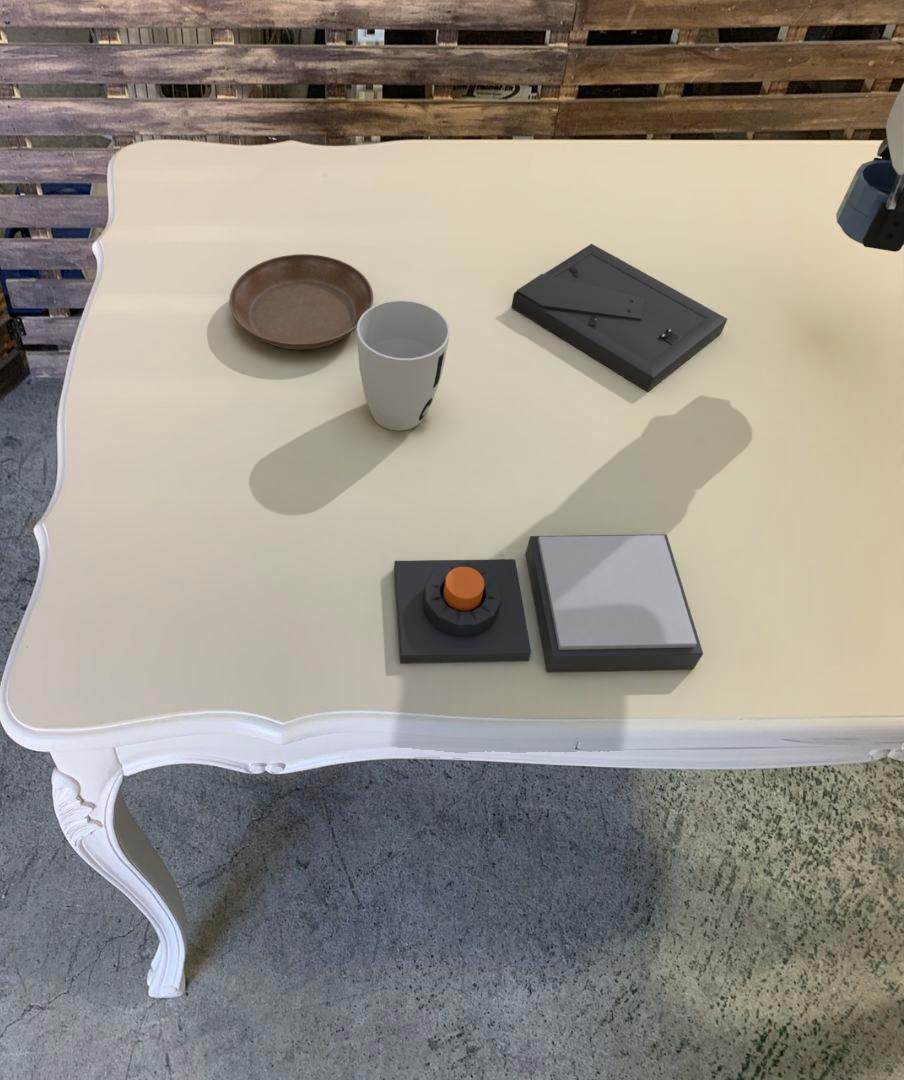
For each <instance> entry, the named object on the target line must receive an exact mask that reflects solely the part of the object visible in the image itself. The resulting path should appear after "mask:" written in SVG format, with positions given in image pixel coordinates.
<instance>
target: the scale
mask: <svg viewBox="0 0 904 1080" xmlns="http://www.w3.org/2000/svg"><path fill="white" fill-rule="evenodd" d="M524 555H525V558H526V564H527V570H528V576H529V581H530V586H531V591H532V592H531V593H532V597H533V603H534V608H535V615H536V619H537V626H538V631H539V636H540V643H541V647H542V651H543V658H544V663H545V670H546V673H571V672H572V673H573V672H574V673H575V672H577V673H580V672H618V671H619V672H623V671H624V672H627V671H629V672H631V671H675V670H676V671H677V670H678V671H680V670H681V671H682V670H694V669H695V668H696V666H697V665H698V663H699V662H700V660H701V658H702V657H703V655H704V651H703V648H702V645H701V642H700V638H699V636H698V632H697V628H696V625H695V623H694V619H693V616H692V613H691V609H690V605H689V603H688V598H687V596H686V592H685V589H684V586H683V583H682V580H681V577H680V573H679V570H678V567H677V564H676V560H675V557H674V554H673V551H672V547H671V543H670V541H669V537H668V534H665V533H663V534H599V535H598V534H593V535H588V534H586V535H584V534H583V535H530V536H529V539H528V543H527V547H526V550H525V554H524Z"/></svg>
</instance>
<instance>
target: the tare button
mask: <svg viewBox="0 0 904 1080" xmlns="http://www.w3.org/2000/svg"><path fill="white" fill-rule="evenodd" d="M484 585H485V584H484V579H483V577H482V575H481V574H480V573H479V572H478V571H476V570H475V569H473V568H470V567H457V568H455V569H453V570H451V571H450V572H449V573H448V574H447V576H446V580H445V586H444V592H443V595H444V599H445V601H446V602H447V604H448V605H449V606H451V607H452V608H454V609H456V610H460V611H468V610H472V609H474V608H475V607H477V606H478V605H479V603H480V602H481V599H482V594H483V590H484Z"/></svg>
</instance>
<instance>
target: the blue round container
mask: <svg viewBox="0 0 904 1080" xmlns="http://www.w3.org/2000/svg"><path fill="white" fill-rule="evenodd" d="M896 176H897V172H896V171H895V169H894V168H893V165H892V160H874V159H873V160H869V161H866V162H864V163H861V165H860V166H859V167H858V168H857V170H856V171H855V174H854V176H853V178H852V179H851V182H850V184H849V186H848V188H847V190H846V193H845V195H844V197H843V199H842V201H841V203H840V204H839V207H838V209H837V211H836V213H835V214H836V215H835V218H836V223H837V224H838V226H839V227H840V229H841V230H842V232H843V233H844V234H845V235H846V236H847V237H848V238H849V239H851V240H853V241H855V242H857V243H859V244H861V245H863V238H864V236H865V234H866V232H867V230H868V229H869V227H870V225H871V223H872V221H873V219H874V217H875V215H876V213H877V211H878V209H879V207H880V205H881V203H882V202H883V203H887V201H888V198H889V195H890V192H891V190H892V187H893V184H894V181H895V179H896ZM903 192H904V187H903V190H902V193H903ZM903 246H904V244H903Z"/></svg>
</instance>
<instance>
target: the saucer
mask: <svg viewBox="0 0 904 1080" xmlns="http://www.w3.org/2000/svg"><path fill="white" fill-rule="evenodd" d="M373 306H374V291H373V288H372V285H371V284H370V282H369V280H368V279H367V278H366V277H365V275H364V274H363V273H362V272H361V271H360V270H359V269H357V268H355V267H354V266H352V265H351V264H349V263H347V262H344V261H342V260H339V259H337V258H333V257H330V256H325V255H320V254H311V253H309V254H307V253H301V254H299V253H297V254H287V255H283V256H277V257H273V258H270V259H267V260H264V261H262V262H260V263H258V264H256V265H254V266H252V267H251V268H249V269H248V270H246V271H245V272H244V273H242V274H241V275H240V276H239V277H238V279H237V280H236V282H235V283H234V284H233V286H232V288H231V290H230V294H229V308H230V311H231V313H232V315H233V317H234V319H235V320H236V321H237V323H238V324H239V325H240V326H241V327H242V328H243V329H245V331H247V332H248V333H249V334H250V335H252V336H254V337H255V338H257V339H258V340H260V341H263V342H264V343H267V344H269V345H271V346H275V347H279V348H281V349H288V350H313V349H319V348H323V347H326V346H329V345H332V344H334V343H336V342H339V341H341V340H342V339H344V338H346V337H347V336H349V335H350V334H352V333H353V332H354V331H355V330H357V324H358V321H359V319H360V317H361V316H362V315H363V313H364V312H366V311H367V310H368V309H369V308H371V307H373Z"/></svg>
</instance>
